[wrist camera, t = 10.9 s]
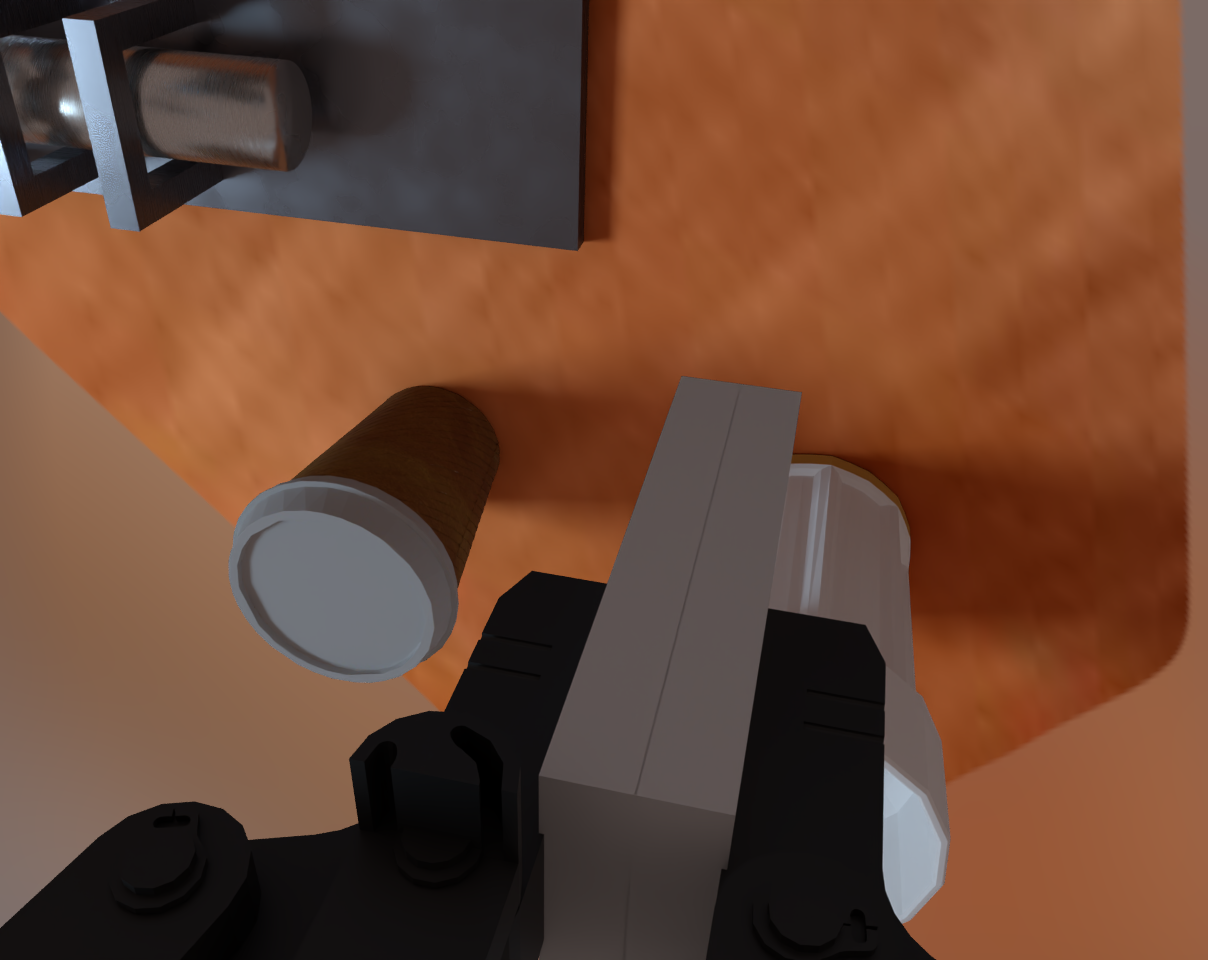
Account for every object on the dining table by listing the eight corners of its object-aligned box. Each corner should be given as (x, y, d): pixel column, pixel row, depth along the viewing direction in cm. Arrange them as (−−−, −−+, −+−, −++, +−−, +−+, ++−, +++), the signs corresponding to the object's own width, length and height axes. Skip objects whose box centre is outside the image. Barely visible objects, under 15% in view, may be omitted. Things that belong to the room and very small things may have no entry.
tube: (306, 44, 41) (250, 70, 38) (319, 156, 44) (268, 190, 40) (-59, 11, 44) (-142, 33, 40) (-28, 119, 46) (-104, 148, 43)
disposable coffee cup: (571, 479, 51) (494, 647, 41) (428, 550, 56) (327, 717, 46) (447, 319, 48) (332, 460, 38) (306, 408, 52) (170, 555, 43)
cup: (991, 520, 47) (1030, 843, 33) (835, 666, 54) (813, 988, 40) (776, 384, 46) (721, 659, 32) (644, 550, 52) (549, 840, 38)
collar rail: (-128, -76, 44) (-312, -48, 37) (589, -23, 39) (524, 21, 32) (-52, 167, 49) (-200, 230, 43) (583, 241, 44) (527, 326, 38)
